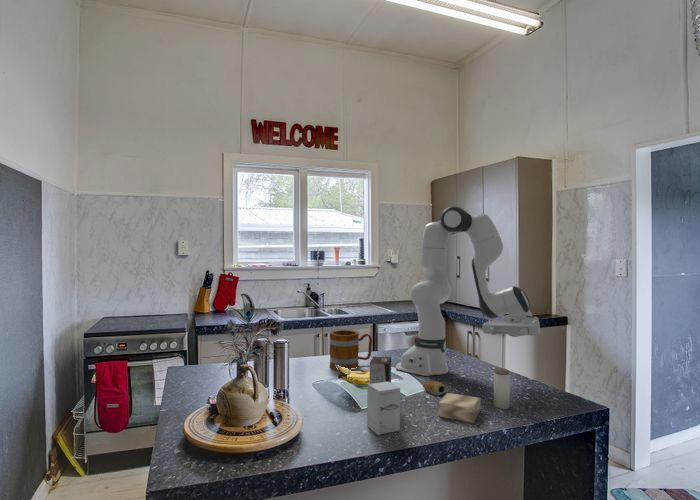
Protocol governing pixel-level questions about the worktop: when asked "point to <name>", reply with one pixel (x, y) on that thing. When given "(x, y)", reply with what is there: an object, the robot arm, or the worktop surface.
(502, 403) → the spice jar
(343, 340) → the mug
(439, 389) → the pastry
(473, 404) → the riser
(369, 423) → the supplement box
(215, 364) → the worktop surface
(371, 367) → the coffee box
